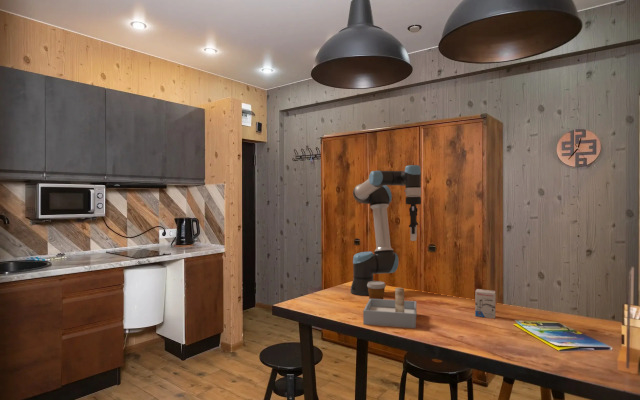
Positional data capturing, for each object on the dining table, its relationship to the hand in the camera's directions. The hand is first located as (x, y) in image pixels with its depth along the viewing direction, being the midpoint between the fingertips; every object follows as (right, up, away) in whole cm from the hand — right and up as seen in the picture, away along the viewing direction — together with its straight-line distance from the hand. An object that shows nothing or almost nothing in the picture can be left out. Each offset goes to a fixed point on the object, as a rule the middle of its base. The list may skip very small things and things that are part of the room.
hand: (413, 239), depth 188 cm
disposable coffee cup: (-18, -35, +6) cm, 40 cm away
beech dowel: (-10, -35, -16) cm, 40 cm away
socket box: (-14, -35, -15) cm, 40 cm away
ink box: (+30, -35, -12) cm, 48 cm away
